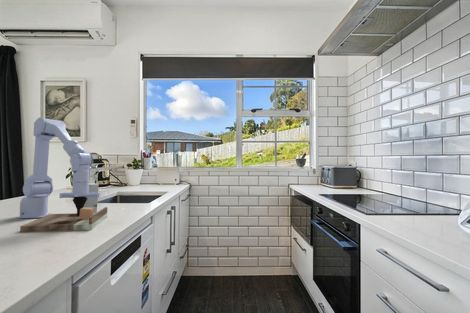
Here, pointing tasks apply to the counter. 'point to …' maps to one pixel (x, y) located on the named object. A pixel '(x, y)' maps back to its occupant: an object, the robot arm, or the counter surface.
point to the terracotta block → (86, 212)
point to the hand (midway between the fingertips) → (79, 215)
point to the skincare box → (92, 201)
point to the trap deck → (64, 222)
